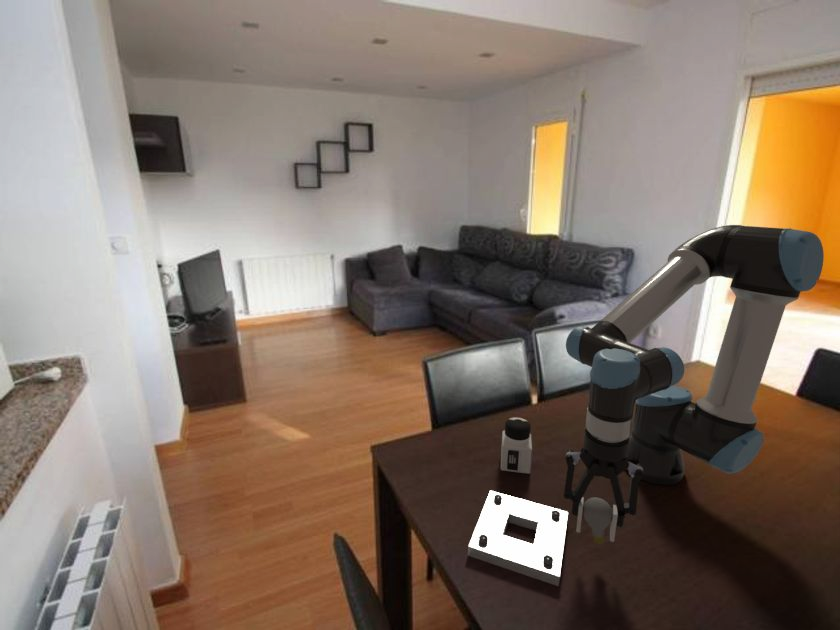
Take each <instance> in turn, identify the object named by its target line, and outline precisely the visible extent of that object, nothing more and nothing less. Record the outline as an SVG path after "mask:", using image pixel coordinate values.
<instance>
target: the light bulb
mask: <svg viewBox="0 0 840 630" xmlns="http://www.w3.org/2000/svg"><path fill="white" fill-rule="evenodd" d="M612 511H613V509H612V507H611V506H610V504H609V503H608V501H606V500H605V499H603V498H601V497H595V496H594V497H593V496H592V497H590V498H588V499H586V501H584V502H583V511H582V517H583V518H584V520H585V521H586V523H587V524H588V525H589V527H590V528H591V533H592V541H593V543H595V544H597V545H602V544H604V542H605V537H604V536H605V530H606V529H607V527H609V526H610V525H611V521H612Z"/></svg>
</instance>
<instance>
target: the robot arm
mask: <svg viewBox="0 0 840 630" xmlns="http://www.w3.org/2000/svg"><path fill="white" fill-rule="evenodd" d="M824 253H825V252H824V247H823V243H822V240H821V239H820V237H819V236H818V235H817V234H815V233H814V232H811V231H808V230H801V229H794V228H781V227H768V226H767V227H765V226H752V225H751V226H749V225H742V224H729V225H721V226H718V227H713V228H711V229H708V230H706V231H703V232H701V233H700V234H697V235H695V236H693V237H691V238H689V239H688V240H686V241H685V242H683V243H681V244H680V245H679V246H678V247H676V248H675V249H674V250H673V251H671V252H670V254H669V255H668V257H667V262H666V263H665V264H663V266H661V268H659V269H658V270H657V271H655V273H654V274H652V275H651V276H650V277H648V279H646V280H645V281H644V282H643V283H642V284H640V285H639V287H638V288H636V289H635V290H634V291H633V292H632V293H631V294H629V295H628V296H627V297H626V298H624V300H623V301H621V302H620V303H619V304H618V305H617V306H616V307H615V308H613V309H612V310H611V311H610V312H608V314H606V315H605V316H604V317H603V318H602V319H601V320H599V321H598V322H597V323H596V324H595V325H593V327H589V326H583V325H581V326H577V327H575V328H573V329H572V330H571V331H570V332H569V333H568V336H567V338H566V341H565V349H566V352H567V354H568V355H569V356H570V358H573V359H574V360H576V361H577V362H579V363H581V364H582V365H586V366H588V367H590V368H591V369H590V372H589V377H590V382H589V396H588V403H587V410H586V420H585V429H584V430H585V431H584V437H583V438H584V439H583V447H582V448H581V449H580V451H573V450H572V449H571V448H570V449H567V450H566V454H565V461H566V465H567V470H566V476H565V477H566V479H565V484H564V485H565V486H564V492H563V497H564V499H566V500H571V501H572V508H571V514H572V515H573V516H576V517H577V520H576V530H575V531H576V533H581V528H582V518H583V505H584V502H585V501H584V500H585V499H584V495H585V493H586V492H587V489H588V487H589V485H590V484H591V482H592V481H593V480H594V478H595V477H603V478H605V479H608V480H609V481H610V485H611V488H612V491H613V497H614V501H615V504H613V505H612V521H611V523H610V525H609V527H610V528H609V542H612V543H615V538H616V531H617V527H619V528H622V527H623V525H624V519H625V517H626V514H629V515H631V516H636V514H637V508H638V507H637V506H638V505H637V504H638V495H639V485H640V484H639V483H640V481H641V480H642V481H645V482H647V483H650V484H655V485H656V484H657V485H660V486H661V485H664V486H671V485H675V484H679V483H680V482H682V480H683V478H684V475H685V463H684V458H683V453H682V451H683V452H684V453H687V454H689V455H691V456H693V457H694V458H696V459H698V460H700V461H702V462H703V463H705V464H708V466H709V467H713V468H715V469H717V470H720V471H722V472H724V473H726V474H736V473H738V472H741V471H742V470H744V469H745V468H746V467H747V466H749V465H750V463H752V462H753V460H754V459H755V458H756V457H757V455H758V454H759V452H760V450H761V448H762V446H763V443H764V440H765V439H764V437H765V436H764V434H763V432H762V431H760V430H759V429H756V426H757V423H758V418H757V416H756V415H755V413H754V412H753V406H754V403H755V402H756V401H755V400H756V397H757V394H758V391H759V388H760V385H761V382H762V380H763V379H762V378H763V377H764V372H765V370H766V367H767V364H768V361H769V358H770V355H771V351H772V349H773V345H774V342H775V339H776V337H777V334H778V330H779V327H780V325H781V321H782V319H783V317H784V316H783V315H784V311H785V310H786V306H787V305H789V304H791V303H793V302H795V301H796V300H798V299H799V297H800V294H801V293H802V292H808V291H809V292H810V290H812V289H813V288H814V287H815V286H816V284H817V281H818V280H820V277H821V274H822V270H823V266H824V259H825V257H824V256H825V255H824ZM715 277H723V278H727V279H731V283H730V287H729V288H730V290H731V291H732V292H733V294H734V295H735V296H734V297H735V299H734V303H733V306H732V309H731V312H730V315H729V318H728V322H727V325H726V329H725V332H724V335H723V339H722V342H721V345H720V349H719V353H718V355H717V359H716V362H715V365H714V369H713V372H712V376H711V379H710V382H709V386H708V389H707V392H706V395H705V396H703V397H702V398H701V397H700V398H699V399H697V400H696V401H695V402H693V401H692V400H693V396H692V393H691V392H690V391H689V390H688V389H685V388H684V387H680V386H676V384H679V383H680V382H681V380H682V379H683V378H684V374H685V364H684V360H682V357H681V356H680V355H679V353H677V352H676V351H675V350H673V349H671V348H669V347H664V346H663V347H653V348H650V349H647V348H644V347H642V346H639V345H636V344H633V343H632V342H633V341H634V340H636V338H637V337H639V336H640V335H641V334H642V333H643V332H644V331H645V330H646V329H648V328H649V326H651V325H652V324H654V322H655V321H656V320H658V318H660V317H661V316H663V314H664V313H665V312H666V311H668V310H669V309H670V308H671V307H672V306H673V305H674V304H675V303H676V302H677V301H678V300H679V299H680V298H682V297H683V296H684V295H685V294H686V293H687V292H688V291H689V290H690V289H692V288H693V287H694V286H697V285H701V284H703V283H706V282H707V281H708V280H709V279H710V278H715ZM633 415H634V416H633ZM580 460H581V461H582V463H583V464H584V466H585V470H584V472H583V474H582V476H581V478H580V480H579V481H578V483H577V486H576V488H575V489H574V490H573V489H572V486H573V481H574V475H575V474H574V473H575V466H576V465H577V464H578V463H579V461H580ZM625 471H627V472H628V475H629V476H630V479H629V480H630V481H629V492H628V500H627V501H628V502H625V500H624V496H623V492H622V487H621V482H620V479H619V478H620V477H619V475H621V474H622V473H623V472H625Z"/></svg>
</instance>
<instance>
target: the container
mask: <svg viewBox="0 0 840 630" xmlns="http://www.w3.org/2000/svg"><path fill="white" fill-rule="evenodd" d="M504 424H505V425H504V430H502V433H501V451H500V470H501V471H505V472H510V473H511V472H512V473H520V474H531V469H532V455H533V441H532V433H531V429H532V428H531V423H530V422H529V421H528V420H526V419H525V418H522V417H510V418H508V419H507V420H505V423H504Z"/></svg>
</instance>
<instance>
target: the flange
mask: <svg viewBox="0 0 840 630" xmlns="http://www.w3.org/2000/svg"><path fill="white" fill-rule="evenodd" d="M568 517H569V511H568V510H563V509H560V508H556V507H555V508H554V507H552V506H548V505H544V504H541V503H536V502H533V501H530V500H527V499H523V498H519V497H515V496H511V495H508V494H504V493H500V492H497V491H494V490H489V493H488V496H487V498H486V500H485V503H484V505H483V508H482V510H481V513H480V516H479V518H478V521H477V523H476V526H475V527H474V530H473V533H472V536H471V539H470V541H469V543H468V545H467V556H468V557H470V558H473V559H476V560H479V561H482V562H486V563H489V564H491V565H495V566H497V567H500V568H503V569H505V570H506V569H507V570H509V571H512V572H515V573H518V574H520V575H521V574H522V575H523V576H527V577H529V578H533V579H536V580H538V581H542V582H544V583H546V584H547V583H548V584H550V585H553V586H556V587H559V586H560V580H561V570H562V563H563V557H564V556H563V555H564V549H565V548H564V547H565V542H566V541H565V540H566V534H567V533H566V532H567V527H568V526H567V524H568ZM509 524H513V525H516V526H520V527H523V528H527V529H529V530H533V531H535V532H536V533H535V536H534V537H535V538H534V541H533V543H530V542H527V541H524V540H521V539H518V538H514V537H511V536H508V535H506V532H507V531H506V530H507V528H508V525H509Z"/></svg>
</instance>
